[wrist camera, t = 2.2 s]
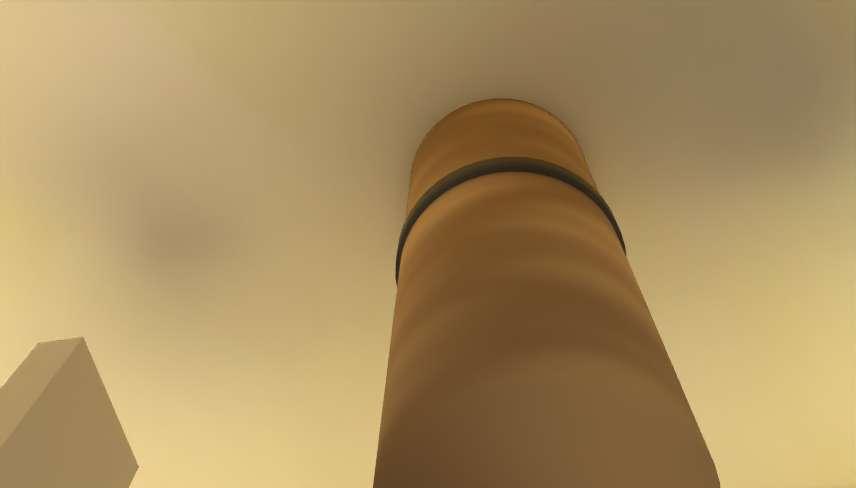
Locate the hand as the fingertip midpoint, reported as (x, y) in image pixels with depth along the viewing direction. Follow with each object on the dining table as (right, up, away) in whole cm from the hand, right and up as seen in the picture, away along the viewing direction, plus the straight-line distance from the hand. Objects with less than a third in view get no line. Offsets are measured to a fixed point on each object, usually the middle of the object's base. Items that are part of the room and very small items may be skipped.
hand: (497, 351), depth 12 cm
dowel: (0, +3, +5) cm, 6 cm away
